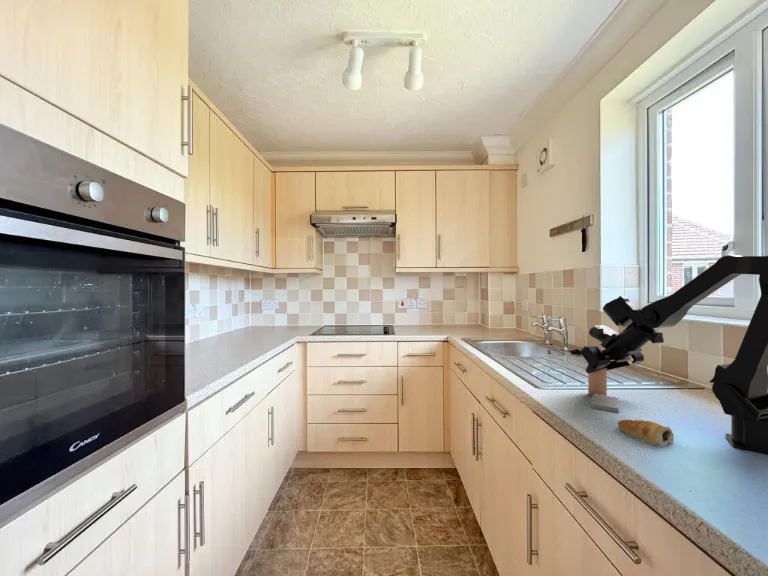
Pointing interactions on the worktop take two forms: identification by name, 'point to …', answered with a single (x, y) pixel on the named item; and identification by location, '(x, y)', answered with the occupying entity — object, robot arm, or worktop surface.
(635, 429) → the pastry
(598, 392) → the stub
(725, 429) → the worktop surface
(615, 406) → the pad
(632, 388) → the worktop surface
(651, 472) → the worktop surface
